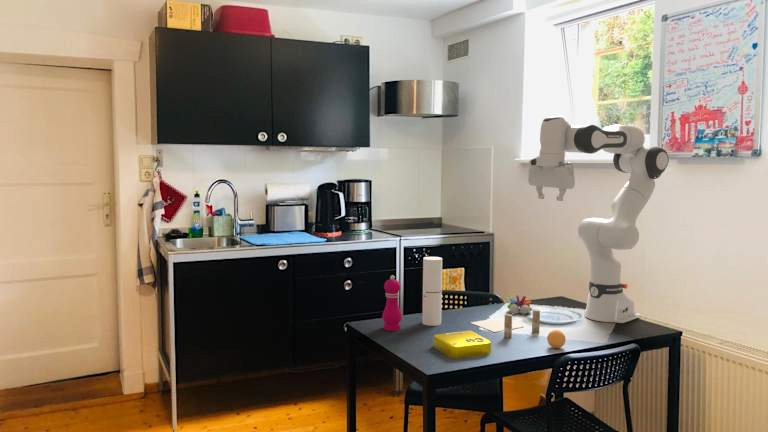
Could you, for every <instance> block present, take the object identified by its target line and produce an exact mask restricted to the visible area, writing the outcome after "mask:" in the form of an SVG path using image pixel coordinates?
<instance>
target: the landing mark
mask: <svg viewBox="0 0 768 432" xmlns="http://www.w3.org/2000/svg"><path fill="white" fill-rule="evenodd" d="M496 318H497V317H496ZM496 318H489V319H484V320H478V321H471V322H470V324H472V325H474V326H476V327H480V328H482V329H484V328H485V329H484V330H487V331H489V330H490V331H489V332H492V333H499V332H504V321H505V319H504V320H503V318H501V319H502V320H503V321H502V320H500V319H499V320H497V319H496ZM502 324H503V325H502ZM498 325H499V326H498ZM501 325H502V326H501ZM520 327H522V328H524V326H522V325H520V324H518V323H514V322H512V330H515V328H516V329H521V328H520ZM498 331H499V332H498Z"/></svg>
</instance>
